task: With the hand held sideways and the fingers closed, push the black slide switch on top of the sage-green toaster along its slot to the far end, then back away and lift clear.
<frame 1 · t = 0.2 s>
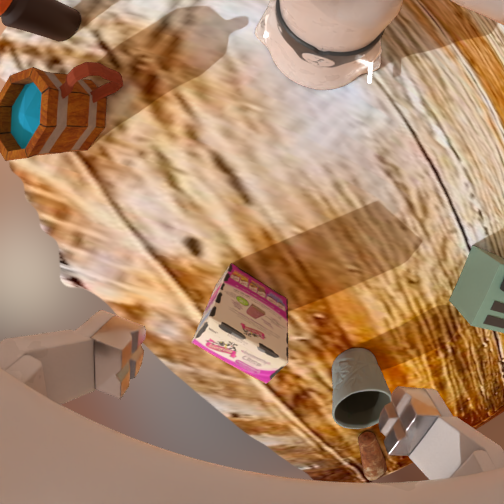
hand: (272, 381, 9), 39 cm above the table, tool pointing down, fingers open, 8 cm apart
candy bar box: (252, 291, 51), on the table
bottle: (68, 26, 38), on the table
bread: (367, 448, 63), on the table
gray embossed cup: (352, 365, 54), on the table
toaster: (491, 283, 46), on the table
mug: (90, 107, 43), on the table
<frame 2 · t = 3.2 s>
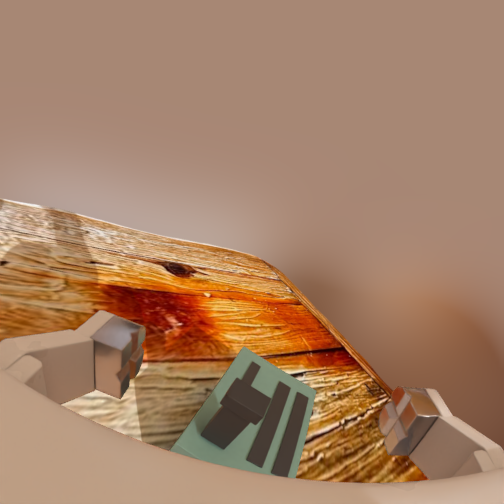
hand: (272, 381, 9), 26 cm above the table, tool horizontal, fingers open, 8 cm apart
toaster: (224, 452, 32), on the table
slide switch: (231, 418, 23), point 12 cm above the table, slide at 0.0 cm
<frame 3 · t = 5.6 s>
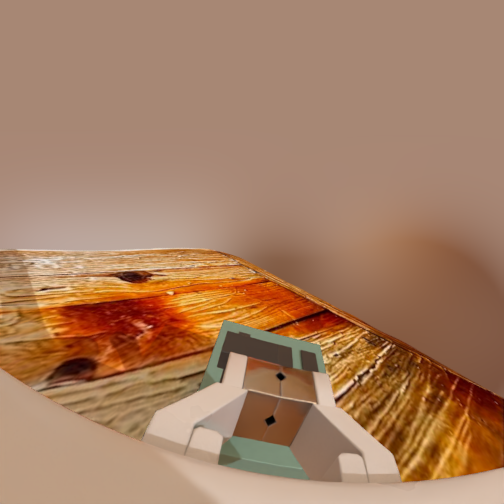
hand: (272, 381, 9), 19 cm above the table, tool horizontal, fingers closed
toaster: (244, 445, 27), on the table
slide switch: (238, 386, 18), point 12 cm above the table, slide at 0.0 cm
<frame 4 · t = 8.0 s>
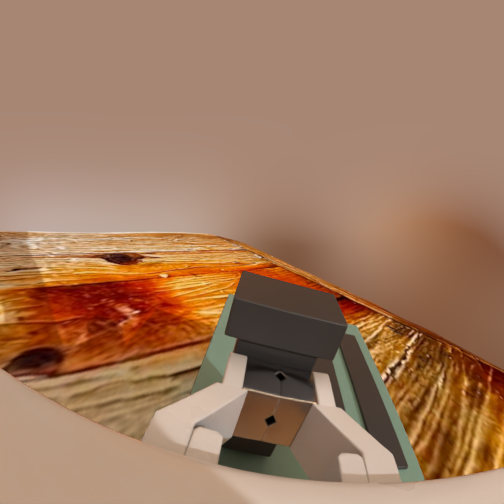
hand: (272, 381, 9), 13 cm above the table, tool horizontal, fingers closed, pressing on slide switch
toaster: (260, 466, 18), on the table
slide switch: (263, 376, 10), point 12 cm above the table, slide at 0.4 cm, touching gripper
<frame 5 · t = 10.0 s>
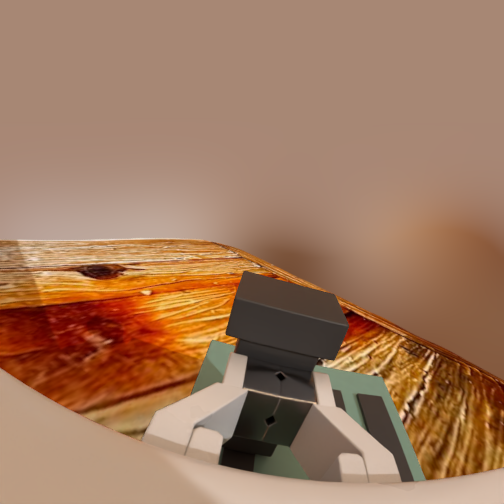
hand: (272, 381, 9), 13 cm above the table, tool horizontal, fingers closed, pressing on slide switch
slide switch: (264, 376, 10), point 12 cm above the table, slide at 7.9 cm, touching gripper
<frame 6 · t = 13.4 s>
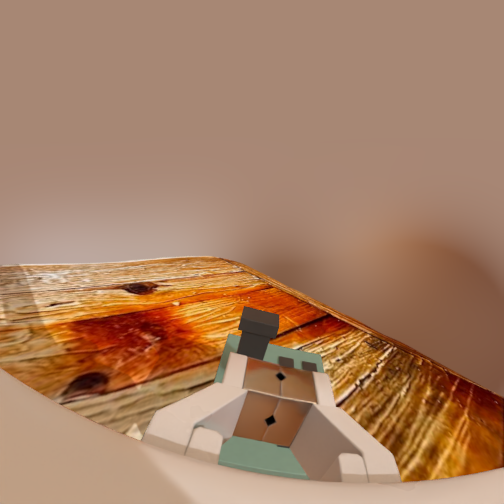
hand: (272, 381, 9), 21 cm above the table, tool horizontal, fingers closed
toaster: (250, 451, 28), on the table
slide switch: (252, 345, 27), point 12 cm above the table, slide at 7.9 cm
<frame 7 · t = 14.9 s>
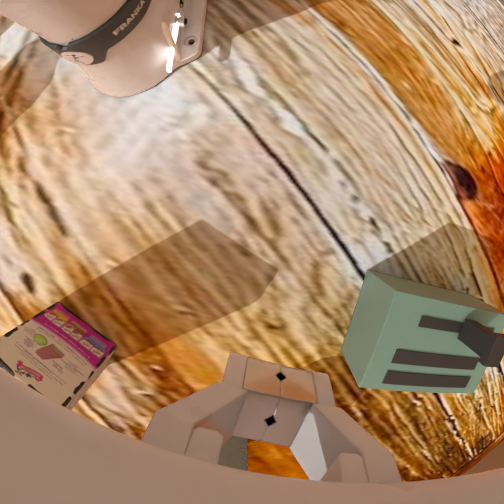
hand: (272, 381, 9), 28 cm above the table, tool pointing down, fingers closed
candy bar box: (82, 334, 39), on the table
gray embossed cup: (217, 429, 41), on the table
toaster: (412, 322, 37), on the table
slide switch: (481, 340, 25), point 12 cm above the table, slide at 7.9 cm
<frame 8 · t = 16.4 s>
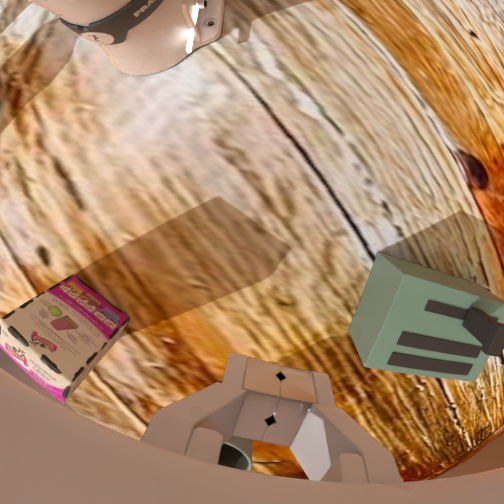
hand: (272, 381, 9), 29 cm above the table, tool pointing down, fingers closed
candy bar box: (96, 307, 42), on the table
gray embossed cup: (224, 403, 44), on the table
toaster: (419, 306, 38), on the table
slide switch: (485, 328, 25), point 12 cm above the table, slide at 7.9 cm
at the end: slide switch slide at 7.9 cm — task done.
